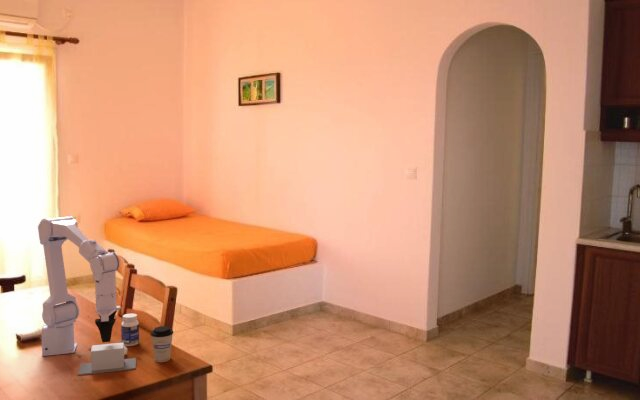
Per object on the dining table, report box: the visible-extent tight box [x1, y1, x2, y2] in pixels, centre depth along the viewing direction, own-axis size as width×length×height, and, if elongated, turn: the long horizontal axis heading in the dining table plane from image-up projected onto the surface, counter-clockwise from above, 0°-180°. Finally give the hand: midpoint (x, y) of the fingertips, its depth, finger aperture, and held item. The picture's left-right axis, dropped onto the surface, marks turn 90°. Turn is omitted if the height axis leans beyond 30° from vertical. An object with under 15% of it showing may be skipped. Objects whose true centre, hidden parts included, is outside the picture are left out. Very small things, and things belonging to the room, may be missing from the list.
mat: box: [77, 357, 137, 377], centre depth 163 cm, size 16×8×1 cm, turn 108°
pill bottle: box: [120, 313, 140, 347], centre depth 182 cm, size 6×6×10 cm
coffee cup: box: [150, 325, 174, 363], centre depth 169 cm, size 7×7×10 cm
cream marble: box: [124, 346, 128, 356], centre depth 172 cm, size 3×3×3 cm
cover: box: [90, 342, 125, 371], centre depth 163 cm, size 9×5×6 cm, turn 108°
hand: (107, 337), depth 162 cm, fingers open, 7 cm apart
